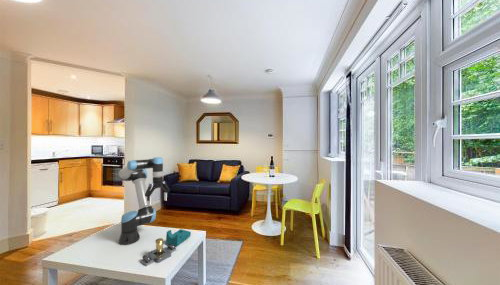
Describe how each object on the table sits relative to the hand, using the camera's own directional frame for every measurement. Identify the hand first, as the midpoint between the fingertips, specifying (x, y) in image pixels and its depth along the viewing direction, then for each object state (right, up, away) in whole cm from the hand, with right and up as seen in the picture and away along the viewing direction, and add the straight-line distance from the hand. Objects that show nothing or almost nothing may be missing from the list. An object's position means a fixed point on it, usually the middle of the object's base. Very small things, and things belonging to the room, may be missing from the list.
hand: (157, 202), depth 160 cm
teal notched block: (+14, -35, +7) cm, 39 cm away
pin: (+8, -35, -15) cm, 39 cm away
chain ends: (+8, -35, -15) cm, 39 cm away
